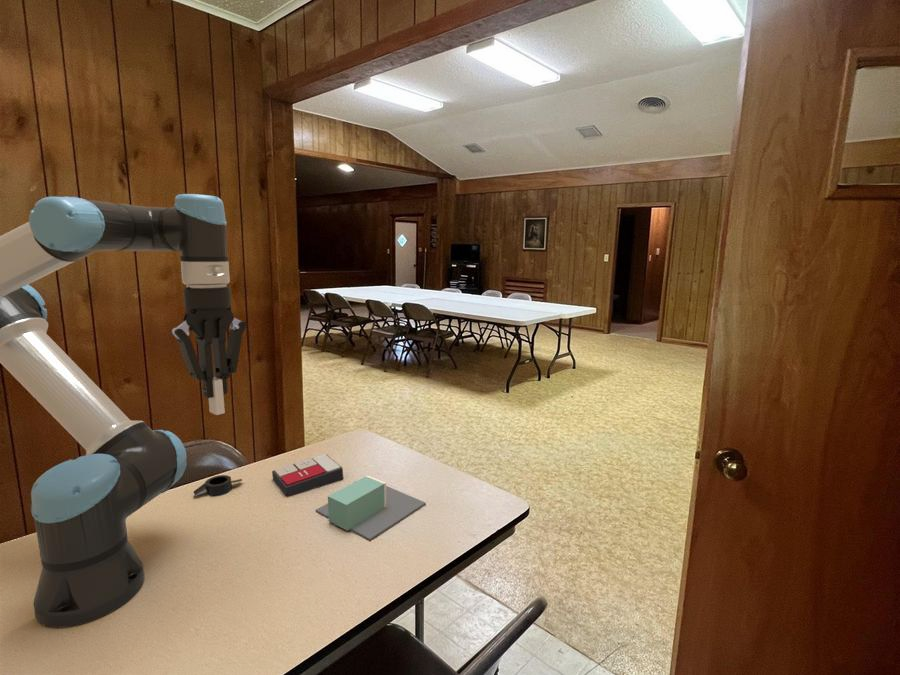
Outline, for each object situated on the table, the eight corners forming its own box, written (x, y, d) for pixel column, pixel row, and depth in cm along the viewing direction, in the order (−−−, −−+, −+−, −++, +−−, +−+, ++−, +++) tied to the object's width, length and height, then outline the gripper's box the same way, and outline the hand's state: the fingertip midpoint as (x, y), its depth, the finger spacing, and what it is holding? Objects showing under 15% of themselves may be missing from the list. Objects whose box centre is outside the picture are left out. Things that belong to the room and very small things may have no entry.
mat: (315, 511, 107) (315, 509, 107) (372, 481, 121) (372, 480, 121) (370, 541, 97) (370, 539, 97) (425, 504, 111) (425, 502, 111)
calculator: (271, 468, 121) (325, 451, 130) (272, 483, 122) (327, 465, 131) (285, 485, 113) (342, 465, 122) (287, 501, 114) (344, 480, 123)
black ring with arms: (204, 484, 119) (203, 474, 119) (244, 483, 121) (244, 472, 120) (191, 500, 112) (190, 489, 111) (234, 498, 113) (233, 487, 113)
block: (327, 496, 102) (367, 475, 111) (328, 521, 103) (368, 498, 112) (346, 505, 98) (386, 482, 108) (347, 530, 99) (386, 506, 109)
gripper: (177, 289, 75) (190, 427, 79) (253, 285, 85) (260, 407, 90) (157, 286, 79) (170, 417, 84) (231, 282, 90) (239, 400, 94)
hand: (217, 412), depth 87 cm, fingers closed
